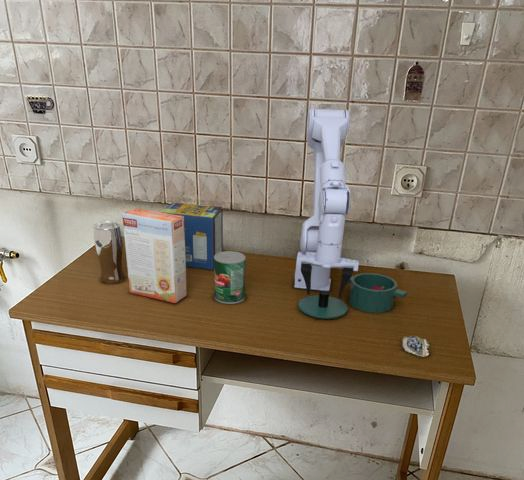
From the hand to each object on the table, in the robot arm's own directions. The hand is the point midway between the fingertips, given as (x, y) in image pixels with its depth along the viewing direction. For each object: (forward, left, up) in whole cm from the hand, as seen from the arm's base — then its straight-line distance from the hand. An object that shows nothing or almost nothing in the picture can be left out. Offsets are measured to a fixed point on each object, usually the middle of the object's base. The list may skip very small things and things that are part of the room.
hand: (324, 294), depth 127 cm
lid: (0, 0, -4) cm, 3 cm away
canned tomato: (-24, +1, -4) cm, 24 cm away
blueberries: (+22, -14, -4) cm, 26 cm away
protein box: (-40, +23, -4) cm, 46 cm away
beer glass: (-57, +4, -4) cm, 57 cm away
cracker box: (-42, -2, -4) cm, 42 cm away
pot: (+12, +7, -4) cm, 15 cm away
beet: (+13, +7, -2) cm, 15 cm away
